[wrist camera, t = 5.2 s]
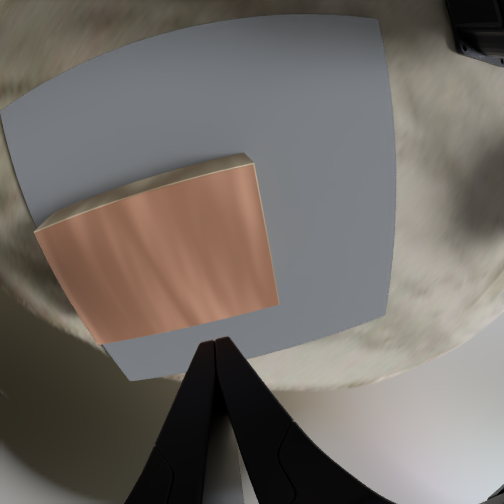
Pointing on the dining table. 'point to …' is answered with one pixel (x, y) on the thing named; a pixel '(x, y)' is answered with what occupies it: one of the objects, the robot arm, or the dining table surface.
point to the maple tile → (164, 251)
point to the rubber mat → (230, 143)
